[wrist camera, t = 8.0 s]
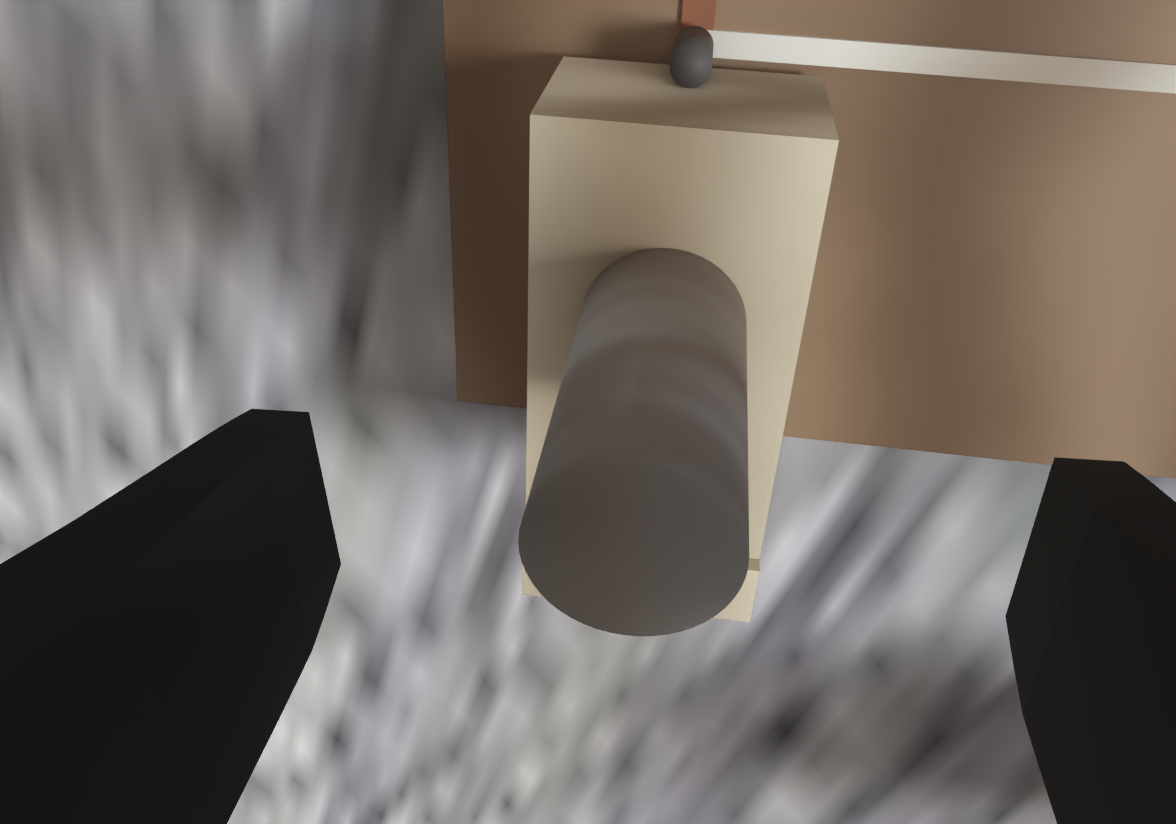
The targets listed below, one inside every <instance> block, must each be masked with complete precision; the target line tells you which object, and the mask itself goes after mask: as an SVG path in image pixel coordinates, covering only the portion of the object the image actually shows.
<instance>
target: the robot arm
mask: <svg viewBox="0 0 1176 824" xmlns="http://www.w3.org/2000/svg"><path fill="white" fill-rule="evenodd" d="M340 565H341V562H340V558H339V553H338V548H337V543H336V539H335V534H334V529H333V524H332V520H331V515H330V510H329V505H328V501H327V496H326V491H325V487H324V482H323V477H322V472H321V468H320V463H319V458H318V453H317V449H316V444H315V439H314V434H313V430H312V425H311V420H310V416H309V412H295V411H279V410H262V409H251V410H249V411H247V412H245V413H243V414H242V415H240V416H238V417H236V418H234V419H232V420H231V421H229V422H227V423H226V424H224V425H222V426H221V427H219V428H217V429H216V430H214V431H213V432H211V433H209V434H208V435H206V436H205V437H203V438H201V439H200V440H198V441H197V442H195V443H194V444H192V445H190V446H189V447H187V448H186V449H184V450H183V451H181V452H180V453H178V454H177V455H175V456H173V457H172V458H170V459H169V460H167V461H166V462H164V463H163V464H161V465H160V466H158V467H156V468H155V469H153V470H152V471H150V472H149V473H147V474H146V475H144V476H143V477H141V478H139V479H138V480H136V481H135V482H133V483H132V484H130V485H129V486H127V487H125V488H124V489H122V490H121V491H119V492H118V493H116V494H114V495H113V496H111V497H110V498H108V499H107V500H105V501H104V502H102V503H100V504H99V505H97V506H96V507H94V508H93V509H91V510H90V511H88V512H86V513H85V514H83V515H82V516H80V517H79V518H77V519H75V520H74V521H72V522H71V523H69V524H67V525H66V526H64V527H62V528H61V529H59V530H57V531H56V532H54V533H52V534H51V535H49V536H47V537H45V538H44V539H42V540H40V541H39V542H37V543H35V544H34V545H32V546H30V547H29V548H27V549H25V550H23V551H22V552H20V553H18V554H17V555H15V556H13V557H12V558H10V559H8V560H7V561H5V562H3V563H2V564H0V824H227V822H228V820H229V818H230V816H231V814H232V812H233V810H234V808H235V806H236V804H237V802H238V800H239V798H240V796H241V794H242V792H243V790H244V788H245V786H246V784H247V782H248V780H249V778H250V776H251V774H252V772H253V770H254V768H255V766H256V764H257V762H258V760H259V758H260V756H261V754H262V752H263V750H264V748H265V746H266V744H267V742H268V740H269V738H270V736H271V734H272V732H273V730H274V728H275V726H276V724H277V722H278V720H279V718H280V716H281V714H282V712H283V710H284V707H285V705H286V703H287V701H288V699H289V697H290V695H291V693H292V691H293V689H294V687H295V685H296V683H297V681H298V679H299V677H300V675H301V673H302V670H303V668H304V666H305V664H306V662H307V660H308V658H309V656H310V653H311V651H312V649H313V646H314V643H315V640H316V638H317V635H318V632H319V629H320V626H321V623H322V621H323V618H324V615H325V612H326V609H327V606H328V603H329V600H330V596H331V593H332V590H333V587H334V584H335V581H336V578H337V574H338V571H339V568H340ZM1006 622H1007V628H1008V634H1009V640H1010V646H1011V652H1012V658H1013V665H1014V671H1015V676H1016V681H1017V686H1018V691H1019V697H1020V702H1021V707H1022V712H1023V716H1024V720H1025V723H1026V726H1027V729H1028V733H1029V736H1030V739H1031V743H1032V746H1033V749H1034V752H1035V755H1036V758H1037V762H1038V765H1039V768H1040V771H1041V774H1042V777H1043V781H1044V784H1045V787H1046V790H1047V793H1048V796H1049V799H1050V803H1051V806H1052V809H1053V812H1054V815H1055V818H1056V821H1057V824H1176V502H1175V501H1173V500H1172V499H1171V498H1170V497H1169V496H1167V495H1166V494H1165V493H1164V492H1163V491H1161V490H1160V489H1159V488H1158V487H1157V486H1155V485H1154V484H1153V483H1152V482H1150V481H1149V480H1148V479H1147V478H1145V477H1144V476H1143V475H1142V474H1140V473H1139V472H1138V471H1136V470H1135V469H1134V468H1132V467H1131V466H1130V465H1128V464H1127V463H1126V462H1124V461H1108V460H1091V459H1075V458H1058V457H1054V460H1053V464H1052V467H1051V470H1050V473H1049V477H1048V480H1047V483H1046V486H1045V490H1044V493H1043V496H1042V499H1041V503H1040V506H1039V509H1038V512H1037V516H1036V519H1035V522H1034V525H1033V529H1032V532H1031V535H1030V539H1029V542H1028V545H1027V548H1026V552H1025V555H1024V558H1023V561H1022V565H1021V568H1020V571H1019V574H1018V578H1017V581H1016V584H1015V587H1014V591H1013V594H1012V597H1011V600H1010V604H1009V607H1008V610H1007V613H1006Z"/></svg>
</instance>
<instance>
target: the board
mask: <svg viewBox="0 0 1176 824" xmlns="http://www.w3.org/2000/svg"><path fill="white" fill-rule="evenodd" d="M443 20H444V47H445V74H446V101H447V128H448V154H449V181H450V208H451V235H452V262H453V288H454V315H455V342H456V369H457V396H458V401H466V402H475V403H485V404H494V405H503V406H512V407H521V408H527V354H528V256H529V159H530V114H531V112H532V110H533V108H534V107H535V105H536V103H537V101H538V100H539V98H540V96H541V95H542V93H543V91H544V89H545V88H546V86H547V84H548V83H549V81H550V79H551V77H552V76H553V74H554V72H555V71H556V69H557V67H558V65H559V64H560V62H561V60H562V58H563V57H564V56H566V57H579V58H592V59H604V60H617V61H630V62H643V63H655V64H668V65H670V60H671V56H672V52H673V47H674V43H675V39H676V37H677V35H678V34H679V32H680V31H682V30H683V29H684V28H686V27H689V26H700V27H703V28H704V29H706V30H707V31H708V32H709V33H710V35H711V36H712V39H713V44H714V47H713V59H712V68H719V69H732V70H744V71H757V72H770V73H783V74H795V75H808V76H821V77H823V80H824V84H825V88H826V92H827V96H828V100H829V103H830V107H831V111H832V115H833V119H834V123H835V127H836V131H837V135H838V138H839V143H838V148H837V153H836V159H835V164H834V169H833V174H832V180H831V185H830V190H829V195H828V201H827V206H826V211H825V216H824V222H823V227H822V232H821V237H820V243H819V248H818V253H817V258H816V264H815V269H814V274H813V279H812V285H811V290H810V295H809V301H808V306H807V311H806V316H805V322H804V327H803V332H802V337H801V343H800V348H799V353H798V358H797V364H796V369H795V374H794V379H793V385H792V390H791V395H790V400H789V406H788V411H787V416H786V421H785V427H784V432H783V436H789V437H798V438H808V439H817V440H826V441H835V442H844V443H854V444H863V445H872V446H881V447H891V448H900V449H909V450H918V451H928V452H937V453H946V454H955V455H964V456H974V457H983V458H992V459H1001V460H1011V461H1020V462H1029V463H1038V464H1047V465H1052V464H1053V460H1054V457H1058V458H1075V459H1091V460H1108V461H1124V462H1126V463H1127V464H1128V465H1130V466H1131V467H1132V468H1134V469H1135V470H1136V471H1138V472H1139V473H1140V474H1142V475H1149V476H1158V477H1167V478H1176V0H443Z"/></svg>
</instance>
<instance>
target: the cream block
mask: <svg viewBox="0 0 1176 824" xmlns="http://www.w3.org/2000/svg"><path fill="white" fill-rule="evenodd" d="M713 47H714V44H713V39H712V36H711V35H710V33H709V32H708V31H707V30H706V29H704V28H703V27H700V26H689V27H686V28H684V29H683V30H682V31H680V32H679V34H678V35H677V37H676V39H675V43H674V47H673V52H672V56H671V60H670V65H668V64H655V63H643V62H630V61H617V60H604V59H592V58H579V57H566V56H564V57H563V58H562V60H561V62H560V64H559V65H558V67H557V69H556V71H555V72H554V74H553V76H552V77H551V79H550V81H549V83H548V84H547V86H546V88H545V89H544V91H543V93H542V95H541V96H540V98H539V100H538V101H537V103H536V105H535V107H534V108H533V110H532V112H531V114H530V159H529V256H528V354H527V451H526V508H525V511H524V515H523V518H522V522H521V526H520V529H519V540H518V541H519V552H520V556H521V560H522V594H525V595H533V596H541V597H544V598H545V599H546V600H547V601H549V602H550V603H551V604H552V605H553V606H555V607H556V608H557V609H558V610H560V611H561V612H563V613H564V614H566V615H568V616H569V617H571V618H573V619H575V620H577V621H579V622H581V623H583V624H585V625H588V626H591V627H593V628H596V629H599V630H603V631H607V632H611V633H616V634H622V635H631V636H657V635H666V634H671V633H676V632H681V631H684V630H687V629H690V628H693V627H695V626H697V625H700V624H702V623H704V622H706V621H708V620H709V619H711V618H719V619H727V620H735V621H743V622H750V618H751V613H752V608H753V603H754V598H755V592H756V587H757V582H758V577H759V572H760V569H759V558H760V553H761V547H762V542H763V537H764V532H765V526H766V521H767V516H768V511H769V505H770V500H771V495H772V490H773V484H774V479H775V474H776V469H777V463H778V458H779V453H780V448H781V442H782V437H783V432H784V427H785V421H786V416H787V411H788V406H789V400H790V395H791V390H792V385H793V379H794V374H795V369H796V364H797V358H798V353H799V348H800V343H801V337H802V332H803V327H804V322H805V316H806V311H807V306H808V301H809V295H810V290H811V285H812V279H813V274H814V269H815V264H816V258H817V253H818V248H819V243H820V237H821V232H822V227H823V222H824V216H825V211H826V206H827V201H828V195H829V190H830V185H831V180H832V174H833V169H834V164H835V159H836V153H837V148H838V143H839V138H838V135H837V131H836V127H835V123H834V119H833V115H832V111H831V107H830V103H829V100H828V96H827V92H826V88H825V84H824V80H823V77H821V76H808V75H795V74H783V73H770V72H757V71H744V70H732V69H719V68H712V59H713Z"/></svg>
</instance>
